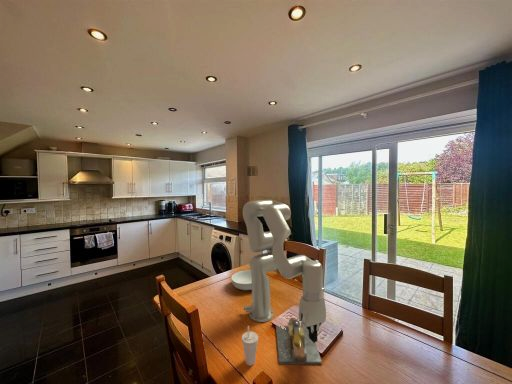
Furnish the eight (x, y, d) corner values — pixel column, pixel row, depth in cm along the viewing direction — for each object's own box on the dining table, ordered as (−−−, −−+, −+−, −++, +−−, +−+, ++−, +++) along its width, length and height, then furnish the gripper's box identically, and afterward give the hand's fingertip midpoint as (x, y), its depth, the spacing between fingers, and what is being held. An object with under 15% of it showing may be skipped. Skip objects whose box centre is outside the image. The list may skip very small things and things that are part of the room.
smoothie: (242, 355, 83) (241, 321, 83) (258, 354, 84) (257, 320, 83) (242, 369, 77) (241, 332, 77) (259, 367, 78) (258, 331, 77)
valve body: (279, 363, 79) (279, 348, 79) (276, 327, 99) (275, 315, 99) (321, 364, 78) (321, 348, 78) (309, 327, 98) (309, 315, 98)
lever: (292, 326, 90) (292, 316, 90) (299, 327, 90) (299, 316, 90) (293, 348, 78) (293, 336, 78) (301, 349, 78) (301, 337, 78)
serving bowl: (235, 278, 152) (235, 269, 152) (264, 280, 149) (263, 270, 149) (227, 293, 132) (227, 282, 132) (260, 295, 129) (260, 284, 129)
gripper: (321, 285, 87) (322, 328, 88) (290, 293, 82) (291, 339, 82) (334, 294, 80) (335, 340, 81) (302, 303, 75) (302, 353, 75)
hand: (313, 339), depth 82 cm, fingers closed
